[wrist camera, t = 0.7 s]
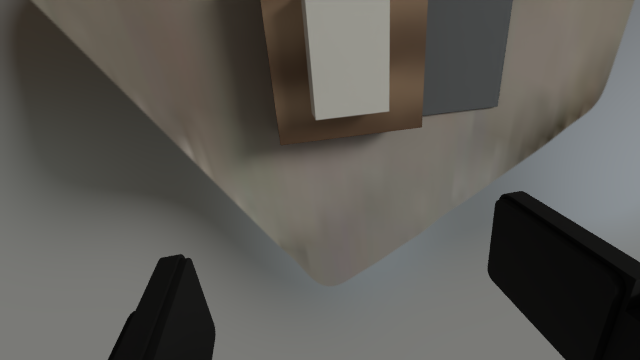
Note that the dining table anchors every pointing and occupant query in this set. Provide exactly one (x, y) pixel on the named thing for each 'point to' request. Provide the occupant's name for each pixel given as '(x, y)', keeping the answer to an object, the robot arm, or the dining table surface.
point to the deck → (293, 81)
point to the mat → (464, 54)
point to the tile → (347, 56)
